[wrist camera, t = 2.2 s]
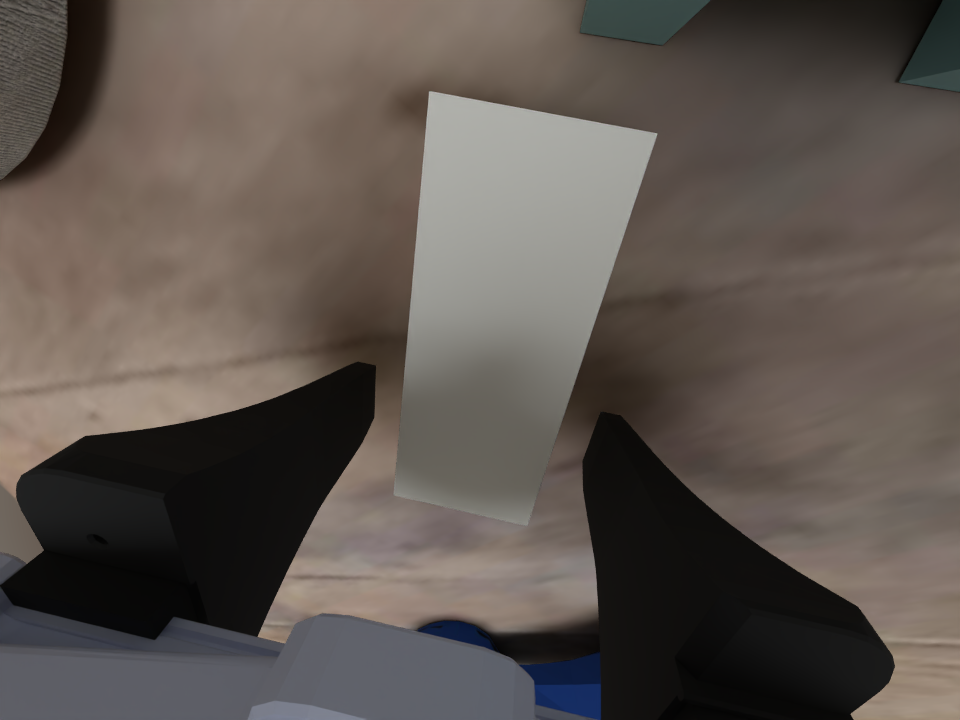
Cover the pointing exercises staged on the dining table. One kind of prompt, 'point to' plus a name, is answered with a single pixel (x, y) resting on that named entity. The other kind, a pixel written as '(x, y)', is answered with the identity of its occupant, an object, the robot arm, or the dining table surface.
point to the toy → (542, 672)
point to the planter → (28, 73)
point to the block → (672, 3)
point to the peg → (505, 294)
